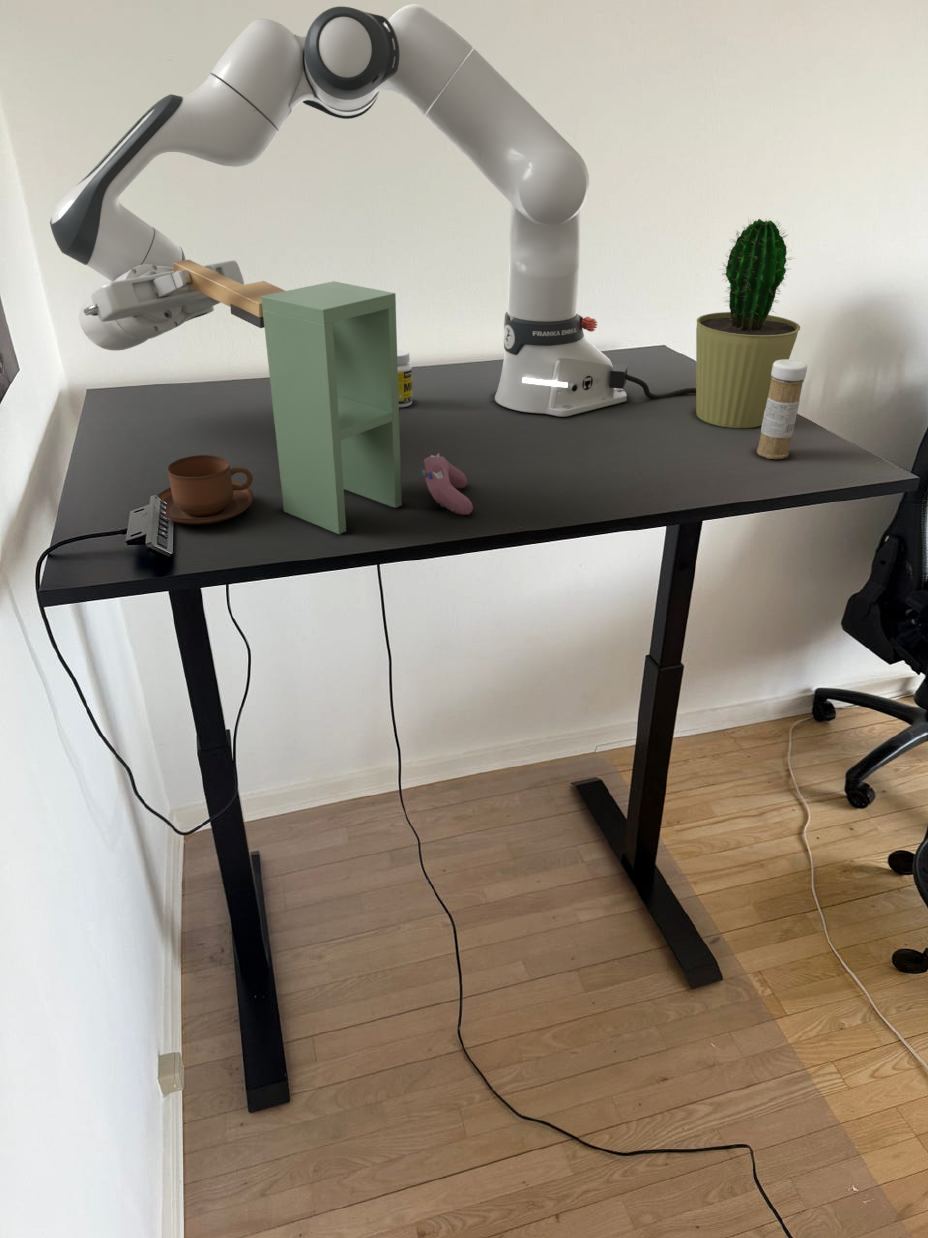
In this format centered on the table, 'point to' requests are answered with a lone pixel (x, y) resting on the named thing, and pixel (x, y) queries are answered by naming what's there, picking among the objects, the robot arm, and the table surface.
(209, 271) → the desk brush
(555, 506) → the table surface
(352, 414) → the sage stand
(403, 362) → the supplement bottle
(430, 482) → the video game controller
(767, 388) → the potted cactus
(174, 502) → the cup and saucer
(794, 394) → the sprinkles bottle
